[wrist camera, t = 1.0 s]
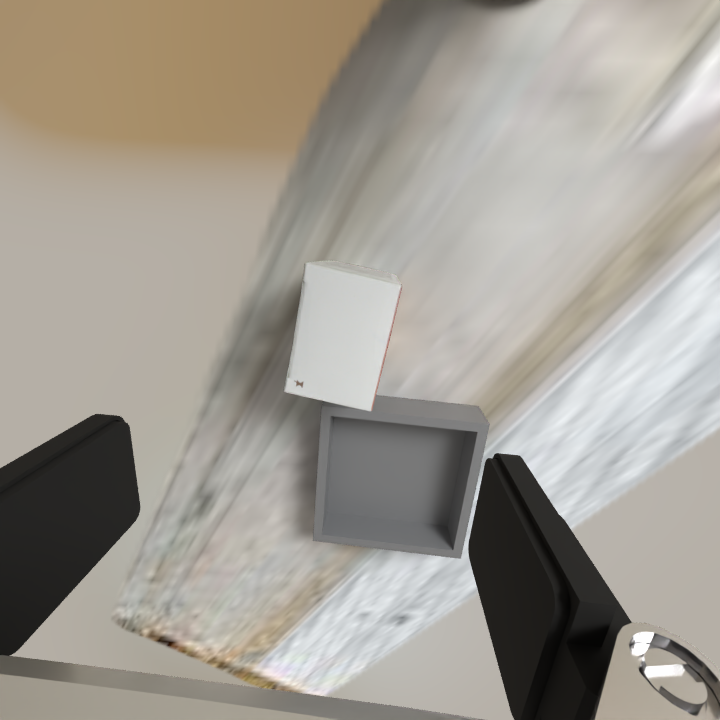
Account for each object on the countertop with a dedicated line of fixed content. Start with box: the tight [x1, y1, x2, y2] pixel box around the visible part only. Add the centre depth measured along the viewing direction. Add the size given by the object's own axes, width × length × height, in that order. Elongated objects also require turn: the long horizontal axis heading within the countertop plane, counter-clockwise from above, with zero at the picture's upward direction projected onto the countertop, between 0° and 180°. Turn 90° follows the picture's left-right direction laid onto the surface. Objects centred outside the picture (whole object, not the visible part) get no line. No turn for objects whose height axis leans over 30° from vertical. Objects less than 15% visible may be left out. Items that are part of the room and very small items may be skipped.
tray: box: [313, 395, 490, 559], centre depth 33 cm, size 14×14×4 cm
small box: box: [284, 260, 402, 411], centre depth 26 cm, size 8×6×10 cm
